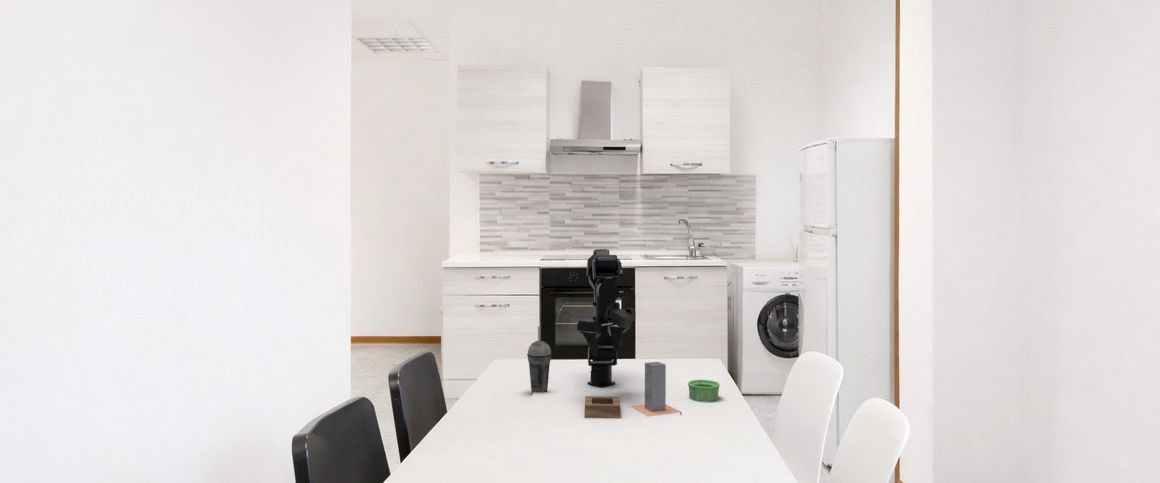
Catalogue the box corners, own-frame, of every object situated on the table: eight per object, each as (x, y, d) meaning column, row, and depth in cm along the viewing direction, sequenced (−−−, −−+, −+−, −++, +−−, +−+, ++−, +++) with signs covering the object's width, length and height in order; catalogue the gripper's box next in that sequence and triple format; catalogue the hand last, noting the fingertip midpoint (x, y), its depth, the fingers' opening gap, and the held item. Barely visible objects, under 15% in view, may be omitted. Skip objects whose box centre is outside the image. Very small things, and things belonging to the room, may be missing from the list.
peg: (644, 407, 166) (644, 362, 165) (657, 406, 167) (658, 361, 167) (652, 411, 162) (652, 365, 162) (665, 410, 164) (665, 364, 163)
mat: (629, 409, 167) (629, 406, 167) (661, 405, 171) (661, 402, 171) (647, 420, 158) (647, 416, 158) (681, 415, 162) (681, 411, 162)
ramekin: (684, 400, 177) (684, 385, 177) (691, 393, 185) (691, 378, 185) (716, 404, 173) (716, 388, 173) (722, 396, 182) (722, 381, 182)
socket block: (585, 411, 166) (585, 396, 166) (619, 411, 166) (619, 396, 166) (584, 421, 157) (584, 405, 157) (620, 421, 157) (620, 406, 157)
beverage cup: (553, 390, 187) (553, 324, 187) (549, 397, 180) (549, 328, 180) (529, 390, 188) (529, 323, 188) (524, 396, 181) (524, 327, 180)
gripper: (606, 303, 166) (606, 362, 166) (648, 298, 179) (648, 352, 179) (575, 300, 173) (575, 356, 173) (618, 295, 187) (618, 347, 187)
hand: (605, 353), depth 178 cm, fingers open, 9 cm apart
